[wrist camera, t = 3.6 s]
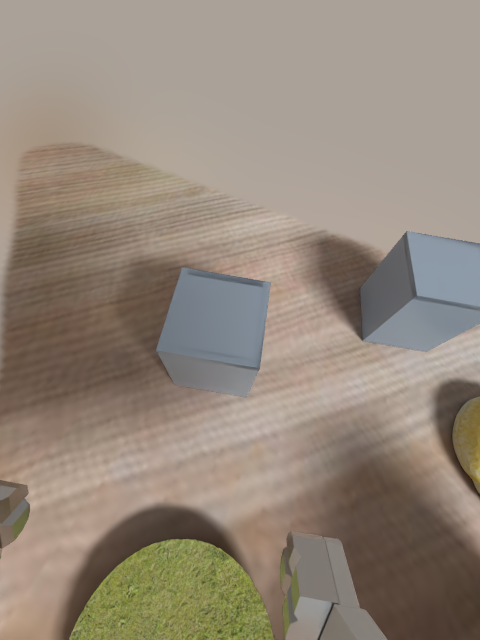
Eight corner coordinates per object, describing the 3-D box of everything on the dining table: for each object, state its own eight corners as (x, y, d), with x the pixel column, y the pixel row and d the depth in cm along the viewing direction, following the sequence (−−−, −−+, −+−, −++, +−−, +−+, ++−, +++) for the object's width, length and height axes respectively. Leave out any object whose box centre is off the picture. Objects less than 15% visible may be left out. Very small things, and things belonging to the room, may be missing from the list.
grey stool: (255, 332, 26) (270, 282, 19) (246, 397, 23) (259, 368, 16) (191, 320, 26) (182, 267, 19) (174, 384, 23) (155, 350, 16)
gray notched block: (417, 298, 29) (483, 244, 22) (426, 351, 26) (504, 310, 19) (359, 288, 29) (406, 231, 22) (362, 340, 26) (417, 295, 19)
